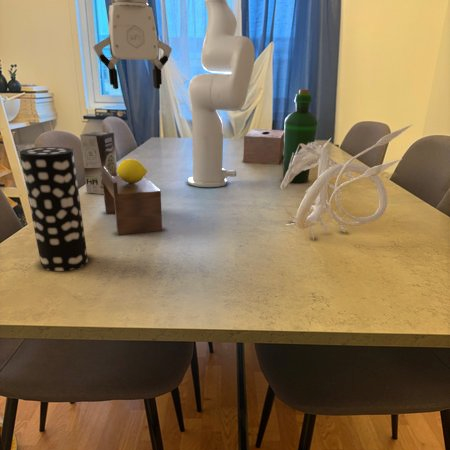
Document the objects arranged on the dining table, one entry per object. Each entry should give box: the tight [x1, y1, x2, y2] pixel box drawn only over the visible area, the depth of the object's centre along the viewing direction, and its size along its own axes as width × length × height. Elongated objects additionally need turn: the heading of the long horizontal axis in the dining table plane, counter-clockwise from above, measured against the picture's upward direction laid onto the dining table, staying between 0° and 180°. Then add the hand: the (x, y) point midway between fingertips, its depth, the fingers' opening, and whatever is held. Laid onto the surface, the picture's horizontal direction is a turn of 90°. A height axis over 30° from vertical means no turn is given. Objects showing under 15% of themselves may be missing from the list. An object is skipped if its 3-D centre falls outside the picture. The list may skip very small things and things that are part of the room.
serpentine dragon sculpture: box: [279, 123, 413, 241], centre depth 93 cm, size 45×21×26 cm, turn 4°
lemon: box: [116, 158, 148, 183], centre depth 99 cm, size 7×5×5 cm
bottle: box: [282, 88, 319, 184], centre depth 140 cm, size 11×11×28 cm
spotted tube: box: [19, 146, 89, 272], centre depth 76 cm, size 8×8×20 cm
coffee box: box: [79, 131, 119, 195], centre depth 125 cm, size 9×6×16 cm
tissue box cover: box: [242, 128, 284, 165], centre depth 183 cm, size 26×14×10 cm, turn 169°
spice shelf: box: [101, 166, 163, 236], centre depth 101 cm, size 10×18×11 cm, turn 22°
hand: (136, 88), depth 100 cm, fingers open, 9 cm apart
